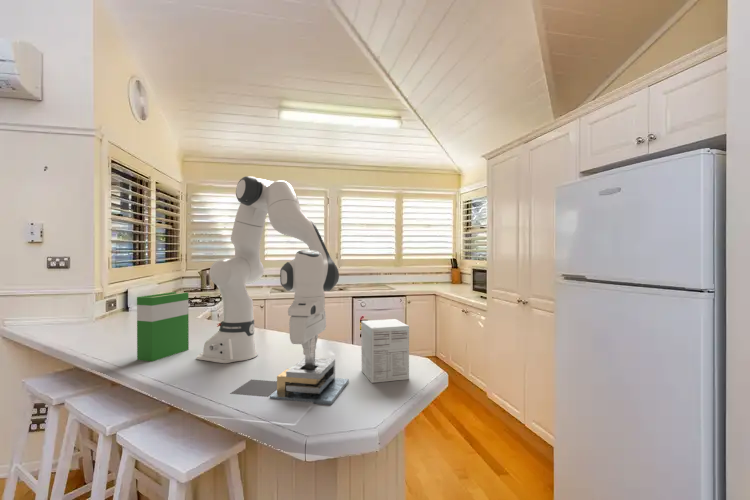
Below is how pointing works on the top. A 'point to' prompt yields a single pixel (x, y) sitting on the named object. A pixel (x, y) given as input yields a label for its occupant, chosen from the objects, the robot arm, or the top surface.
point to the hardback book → (162, 325)
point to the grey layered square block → (310, 383)
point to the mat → (257, 388)
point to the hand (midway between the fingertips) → (309, 352)
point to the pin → (310, 356)
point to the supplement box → (385, 350)
